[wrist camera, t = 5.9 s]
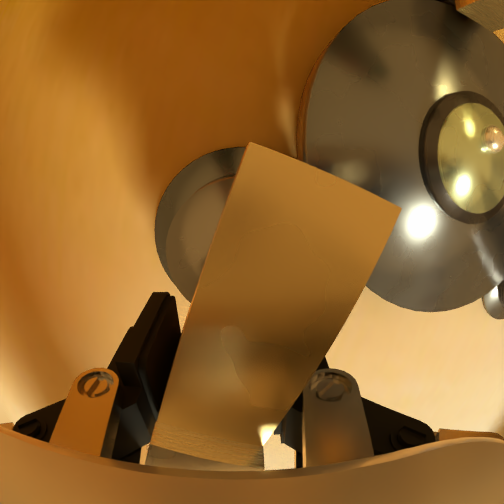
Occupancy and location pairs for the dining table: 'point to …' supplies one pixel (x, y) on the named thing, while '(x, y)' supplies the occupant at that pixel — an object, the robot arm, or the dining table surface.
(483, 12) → the knob
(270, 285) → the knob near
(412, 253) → the plate
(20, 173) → the dining table surface
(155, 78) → the dining table surface
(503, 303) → the knob
